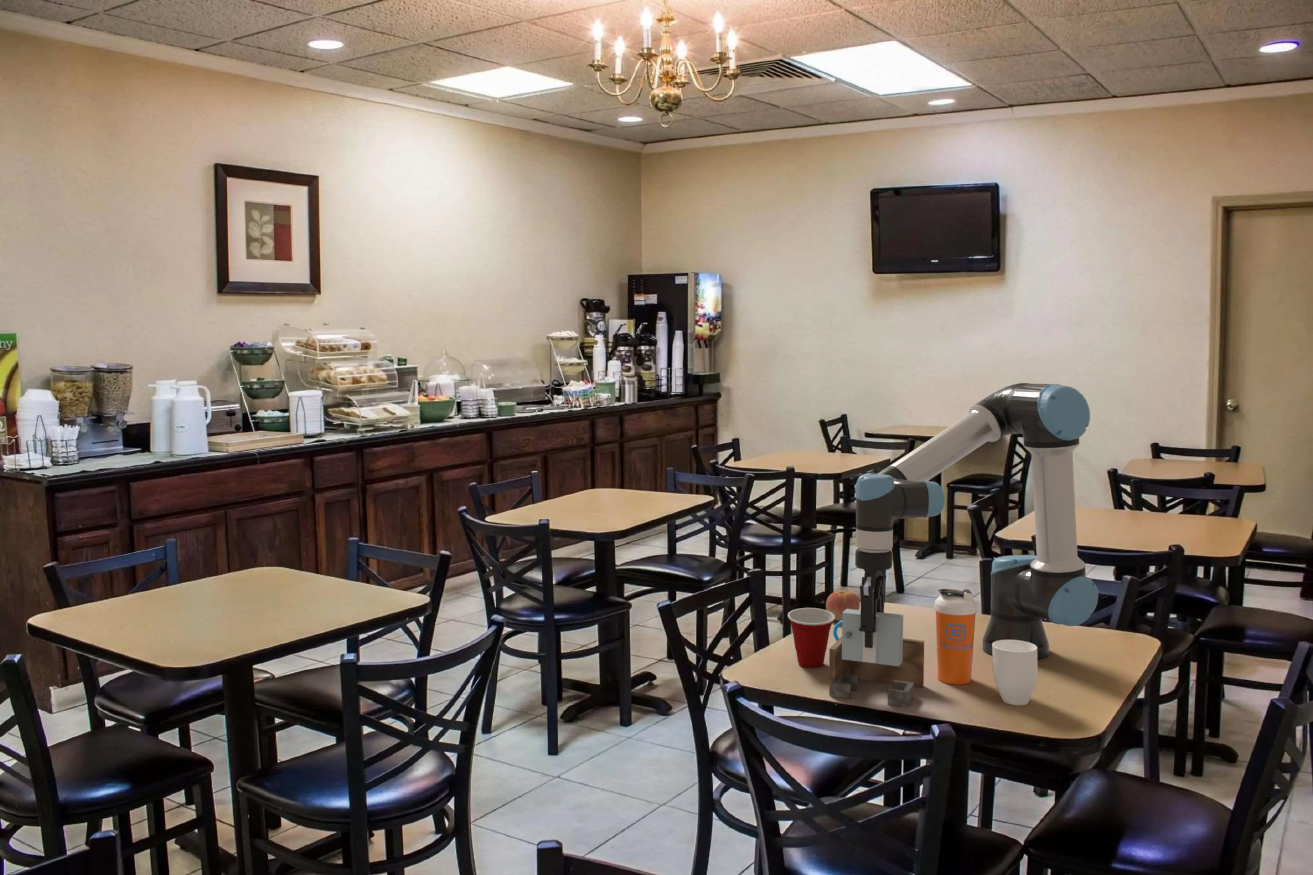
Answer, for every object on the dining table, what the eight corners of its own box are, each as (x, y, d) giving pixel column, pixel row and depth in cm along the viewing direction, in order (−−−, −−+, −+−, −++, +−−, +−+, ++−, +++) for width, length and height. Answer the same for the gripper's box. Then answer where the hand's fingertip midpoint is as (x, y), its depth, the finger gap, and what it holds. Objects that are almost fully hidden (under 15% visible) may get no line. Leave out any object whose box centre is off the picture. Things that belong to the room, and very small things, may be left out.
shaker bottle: (929, 672, 237) (930, 585, 236) (969, 672, 237) (971, 585, 235) (938, 686, 229) (940, 595, 227) (980, 686, 228) (982, 595, 226)
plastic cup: (790, 672, 239) (790, 620, 238) (784, 657, 250) (784, 607, 249) (838, 671, 239) (838, 619, 238) (830, 657, 250) (831, 607, 249)
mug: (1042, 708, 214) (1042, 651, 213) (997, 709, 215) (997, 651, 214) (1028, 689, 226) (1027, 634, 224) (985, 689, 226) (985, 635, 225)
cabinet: (923, 685, 229) (924, 640, 228) (910, 707, 216) (910, 659, 215) (845, 675, 236) (845, 632, 235) (827, 696, 223) (828, 649, 222)
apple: (859, 625, 277) (860, 595, 276) (825, 624, 278) (825, 594, 278) (859, 616, 285) (859, 587, 285) (826, 615, 287) (826, 586, 286)
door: (902, 661, 221) (903, 614, 220) (898, 667, 217) (898, 619, 216) (845, 654, 226) (846, 608, 225) (840, 660, 222) (841, 613, 221)
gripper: (865, 540, 228) (863, 646, 231) (845, 554, 213) (844, 667, 216) (900, 543, 225) (897, 650, 228) (882, 557, 210) (880, 672, 212)
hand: (871, 658), depth 222 cm, fingers closed on door, 3 cm apart
